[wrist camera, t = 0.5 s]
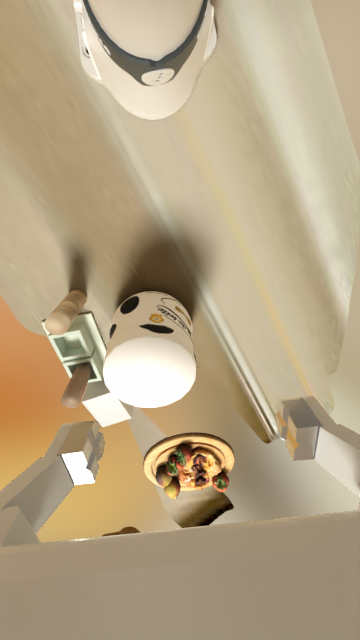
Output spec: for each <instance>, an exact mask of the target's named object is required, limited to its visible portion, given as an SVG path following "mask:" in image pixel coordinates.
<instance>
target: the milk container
mask: <svg viewBox="0 0 360 640" xmlns="http://www.w3.org/2000/svg"><path fill="white" fill-rule="evenodd" d="M109 334H110V341H109V344H108V347H107V350H106V356H105V360H104V363H103V377H104V381H105V385H106V386H107V388H108V389H109V390H110V392H111V393H112V394H113V395H114V396H115V397H117V398H118V399H120V400H121V401H123V402H124V403H127V404H130V405H133V406H137V407H148V408H155V407H160V406H165V405H168V404H171V403H173V402H175V401H177V400H179V399H181V398H182V397H183V396H184V395H185V394H186V393H187V392H188V391H189V390H190V389H191V387H192V385H193V383H194V381H195V376H196V358H195V354H194V349H193V345H192V338H193V326H192V322H191V318H190V316H189V314H188V312H187V310H186V309H185V308H184V306H183V305H182V304H181V303H180V302H179V301H178V300H177V299H175V298H174V297H172V296H170V295H168V294H165V293H162V292H156V291H147V292H141V293H138V294H135V295H133V296H131V297H129V298H128V299H126V300H125V301H124V302H123V303H122V304H121V305H120V306H119V307H118V309H117V310H116V312H115V313H114V315H113V317H112V320H111V324H110V330H109Z"/></svg>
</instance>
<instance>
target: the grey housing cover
mask: <svg viewBox="0 0 360 640" xmlns="http://www.w3.org/2000/svg"><path fill="white" fill-rule="evenodd" d="M82 403H83V404H84V405H85V407H86V408H87V409H88V410H89V411H90V413H91V414H92V415H93V416H94V417H95V419H96V420H97V421H98V422H99V423H100V424H101V426H102V427H105V426H108V425H111V424H114V423H118V422H121V421H124V420H127V419H130V418H132V411H133V405H130V404H127V403H124V402H123V401H121V400H120V399H118V398H117V397H115V396H114V395H113V394H112V393H111V392H110V390H109V389H108V388H107V386H106V385H105V381H104V377H103V379H102V380H101V381H95V382H90V383H88V386H87V389H86V391H85V394H84V397H83V400H82Z"/></svg>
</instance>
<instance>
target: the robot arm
mask: <svg viewBox="0 0 360 640" xmlns="http://www.w3.org/2000/svg"><path fill="white" fill-rule="evenodd" d="M73 3H74V9H75V17H76V25H77V33H78V41H79V49H80V57H81V63H82V66H83V69H84V71H85V72H86V74H87V75H88V76H90V77H91V78H92V79H94V80H95V81H97V82H99V83H100V84H102V85H104V86H105V87H106V88H107V89H108V90H109V91H110V93H111V94H112V95H113V96H114V98H115V99H116V100H117V101H118V102H119V104H120V105H122V106H123V107H124V108H125V109H126V110H127V111H129V112H130V113H132V114H134V115H136V116H138V117H141V118H144V119H150V120H156V119H162V118H165V117H168V116H170V115H172V114H173V113H175V112H176V111H177V110H179V109H180V108H181V107H182V106H183V104H184V103H185V102H186V101H187V99H188V98H189V96H190V94H191V93H192V90H193V88H194V86H195V83H196V80H197V77H198V75H199V72H200V70H201V68H202V66H203V65H204V64H205V62H206V61H207V60H208V59H209V57H210V56H211V55H212V53H213V52H214V50H215V47H216V42H217V33H216V28H215V23H214V7H213V5H211V3H210V0H73ZM87 50H88V52H89V54H87ZM276 407H277V409H278V413H277V414H276V425H277V428H278V431H279V433H280V435H281V437H282V438H284V439H285V440H286V447H287V449H288V451H289V453H290V455H291V457H292V459H293V460H294V461H295V460H308V459H314V460H315V461H316V462H317V463H318V464H320V465H321V466H322V467H323V468H324V469H326V470H327V471H328V472H329V473H330V474H332V475H333V476H334V477H335V478H336V479H338V480H339V481H340V482H341V483H342V484H344V485H345V486H346V487H347V488H349V489H350V490H351V491H352V492H353V493H355V494H356V495H357V496H358V497H359V498H360V435H359V434H357V433H356V432H354V431H352V430H350V429H348V428H346V427H344V426H342V425H337V424H336V423H335V422H334V421H333V419H332V418H331V417H330V416H329V415H328V413H327V412H326V411H325V410H324V409H323V407H322V406H321V405H320V404H319V402H318V401H317V400H316V399H315V398H314V397H313V396H307V397H300V398H291V399H283V400H278V401H277V404H276ZM99 428H100V425H99V422H98V421H87V422H77V423H76V422H75V423H66V424H63V425H62V426H61V427H60V429H59V431H58V433H57V434H56V436H55V438H54V440H53V442H52V443H51V445H50V447H49V449H48V451H47V452H46V454H45V456H44V457H40V458H39V459H38V460H37V461H36V462H34V463H33V464H32V465H31V466H30V467H29V468H27V469H26V470H25V471H24V472H22V473H21V474H20V475H19V476H18V477H17V478H15V479H14V480H13V481H12V482H11V483H10V484H8V485H7V486H6V487H5V488H3V489H2V490H1V491H0V640H360V503H359V507H358V510H354V511H345V512H335V513H325V514H316V515H307V516H297V517H287V518H277V519H269V520H258V521H248V522H239V523H229V524H219V525H211V526H200V527H191V528H181V529H172V530H162V531H153V532H143V533H133V534H124V535H114V536H104V537H95V538H85V539H75V540H66V541H56V542H47V543H42V542H41V540H40V538H39V537H38V535H37V534H36V533H37V532H38V531H39V530H40V528H41V527H42V526H43V525H44V523H45V522H46V521H47V520H48V518H49V517H50V516H51V515H52V513H53V512H54V511H55V510H56V509H57V507H58V506H59V505H60V503H61V502H62V501H63V500H64V499H65V497H66V496H67V495H68V494H69V492H70V491H71V490H72V489H73V487H74V485H77V484H84V483H91V482H95V479H96V475H97V472H98V469H99V464H98V462H97V461H98V460H99V459H100V458H101V457H102V455H103V452H104V444H105V443H104V437H103V434H102V433H101V432H99Z"/></svg>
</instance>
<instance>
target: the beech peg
mask: <svg viewBox="0 0 360 640" xmlns="http://www.w3.org/2000/svg"><path fill="white" fill-rule="evenodd" d="M86 301H87V296H86V294H85V293H84V292H83V291H81V290H78V289H75V290H72V291H71V292H70V293H69V294H68V295H67V296H66V297H65V299H64V300H63V301H62V302H61V303H60V304H59V305H58V307H57V308H56V309H55V310H54V311H53V312H52V313H51V315H50V316H49V317H48V318H47V319H46V320H45V323H44V326H45V328H46V330H47V331H48V332H49V333H51V334H53V335H63V334H64V333H66V331H67V330H68V328H69V327H70V325H71V324H72V322H73V321H74V319H75V318H76V316H77V315H78V313H79V312H80V310H81V309H82V307H83V306H84V304H85V302H86Z"/></svg>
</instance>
